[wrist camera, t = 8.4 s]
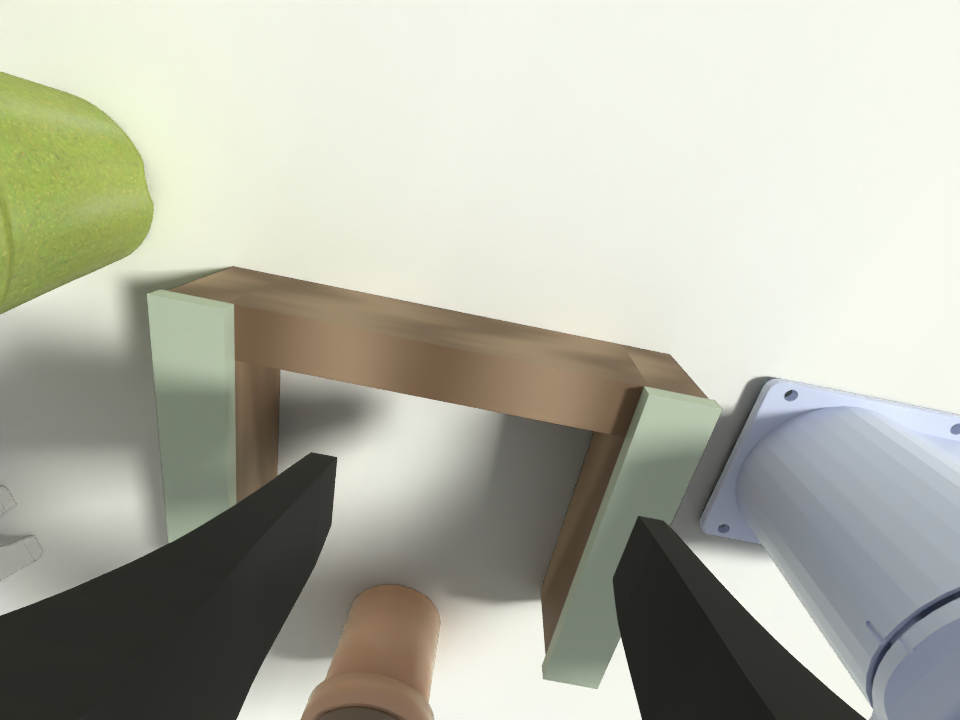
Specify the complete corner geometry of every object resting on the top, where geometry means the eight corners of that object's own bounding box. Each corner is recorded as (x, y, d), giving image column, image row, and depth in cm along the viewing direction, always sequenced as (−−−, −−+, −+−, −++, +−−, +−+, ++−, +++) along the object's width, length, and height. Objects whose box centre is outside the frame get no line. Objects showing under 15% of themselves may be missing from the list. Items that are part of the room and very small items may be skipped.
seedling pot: (446, 581, 25) (428, 705, 19) (448, 657, 27) (432, 788, 21) (338, 575, 25) (288, 695, 19) (348, 651, 27) (305, 779, 21)
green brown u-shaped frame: (674, 355, 19) (722, 408, 15) (581, 598, 24) (597, 689, 20) (228, 265, 19) (146, 294, 14) (233, 532, 24) (174, 610, 20)
